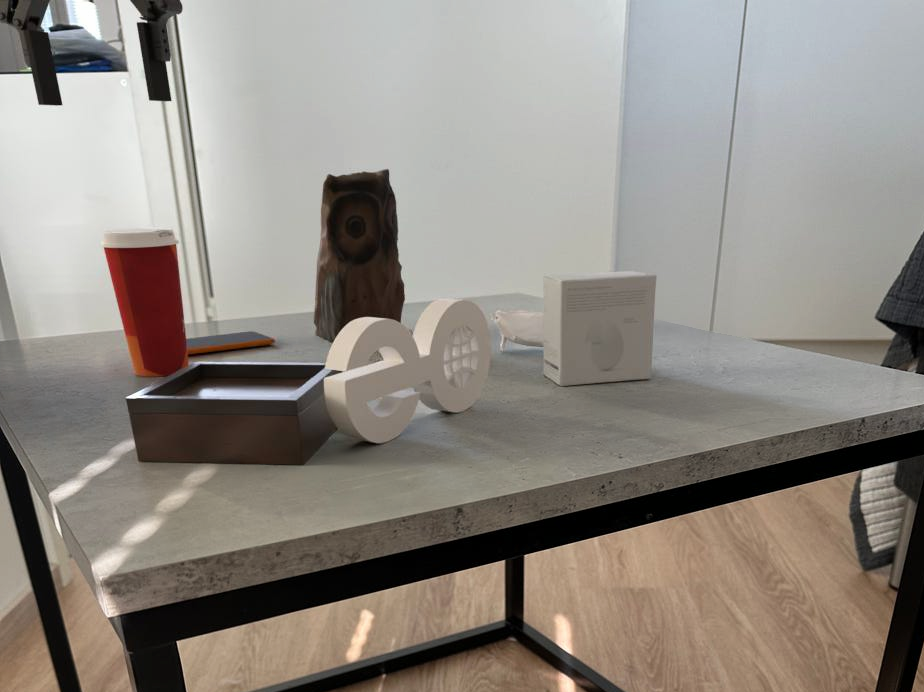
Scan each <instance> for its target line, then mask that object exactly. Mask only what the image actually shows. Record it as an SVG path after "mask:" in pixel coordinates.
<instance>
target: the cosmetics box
mask: <svg viewBox="0 0 924 692" xmlns="http://www.w3.org/2000/svg"><path fill="white" fill-rule="evenodd" d="M656 288H657V275H656V274H652V273H646V272H641V271H638V270H637V271H636V270H628V271H627V270H625V271H624V270H623V271H611V272H610V271H609V272H592V273H591V272H590V273H571V274H554V275H544V276H543V313H544V343H543V347H542V348H543V351H542V353H543V354H542V355H543V357H542V358H543V364H542V365H543V366H542V367H543V372H542V373H543V376H545V377H546V378H548V379H550V380H551V381H552V382H554V383H555V384H557V385H558V386H560V387H568V386H576V385H577V386H578V385H588V384H589V385H591V384H600V383H601V384H602V383H614V382H625V381H638V380H639V381H640V380H649V379H652V375H653V374H652V373H653V371H652V370H653V369H652V368H653V346H654V326H655V306H656V305H655V304H656Z"/></svg>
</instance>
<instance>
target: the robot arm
mask: <svg viewBox="0 0 924 692" xmlns="http://www.w3.org/2000/svg"><path fill="white" fill-rule="evenodd" d="M50 1H51V0H0V23H2V24H6V25H9V26H11V27H13V28H14V29H16V31H17V33H18V36H19V42H20V45H21V50H22V55H23V59H24V60H23V61H24V63H25V66H26V67H27V68H29V69H30V71H31V75H32V79H33V85H34V90H35V94H36V99H37V103H38V105H39V106H63V101H62V96H61V91H60V84H59V81H58V74H57V71H56V66H55V61H54V57H53V56H54V55H53V51H52V45H51V42H50V36H49V35H50V34H49V32H48V31H45V29H44V28H43V27H42V23H43V22H44V21H43V20H44V19H45V15H46V13H47V9H48V7H49V4H50ZM129 1H130V2H131V3H132V5H133V6H134V8H135V9H136V10H137V11H138V12H139V14H140V16H139V19H140V20H141V21H137V22H136V27H137V29H136V30H137V34H138V41H139V46H140V52H141V53H140V54H141V60H142V65H143V71H144V78H145V83H146V84H145V85H146V88H147V95H148V101H151V102H172V101H173V100H172V93H171V88H170V80H169V74H168V68H167V62H171V59H172V53H171V49H170V48H171V46H170V40H169V33H168V21H169V19H171V18H172V17H174V16H175V15H180V14H182V12H183V4H182V1H181V0H129Z"/></svg>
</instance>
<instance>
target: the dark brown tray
mask: <svg viewBox="0 0 924 692" xmlns="http://www.w3.org/2000/svg"><path fill="white" fill-rule="evenodd" d="M325 365H326V362H281V361H280V362H279V361H278V362H277V361H276V362H273V361H271V362H268V361H267V362H265V361H264V362H263V361H262V362H261V361H260V362H259V361H193V362H191V363H190V364H188V366H186V367H184V368H182V369H180V370H178V371H176V372H174V373H173V374H171V375H169V376H164V377H163V378H161V379H160V380H158V381H156V382H154V383H152V384H149V385H148V386H145V387H144V388H142V389H140V390H139V391H137V392H135V393H133V394H131V395H129V396H127V397H125V401H126V407H127V412H128V416H129V421H130V427H131V431H132V437H133V441H134V446H135V451H136V457H137V462H146V463H147V462H150V463H151V462H153V463H155V462H156V463H192V464H193V463H195V464H196V463H197V464H198V463H201V464H240V465H241V464H245V465H246V464H247V465H249V464H250V465H288V466H289V465H292V466H293V465H294V466H295V465H296V466H304V465H305V464H306V462H307V461H308V460H309V459H310V458H312V456H313V455H314V454H315V453H316V452H317V451H318V450H319V449H320V448H321V447H322V446H323V444H324V443H326V441H327V440H328V439H329V438H330V437H331V436H332V435H333V434H334V433H335V432H336V431H337V430H338V428H337V427H336V425H335V424H334V422H333V421H332V419H331V417H330V415H329V412H328V409H327V406H326V401H325V392H324V378H326V377H329V376H332V375H336V374H339V373H342V372H343V371H339V370H331V369H325Z"/></svg>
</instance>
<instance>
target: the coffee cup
mask: <svg viewBox="0 0 924 692" xmlns="http://www.w3.org/2000/svg"><path fill="white" fill-rule="evenodd" d="M101 240H102V241H101V242H100V244H99V247H101V248H103V251H104V255H105V259H106V263H107V267H108V271H109V274H110V279H111V283H112V287H113V291H114V295H115V299H116V304H117V307H118V311H119V316H120V319H121V324H122V328H123V332H124V336H125V339H126V344H127V347H128V351H129V354H130V355H129V356H130V359H131V363H132V366H133V369H134V372H135V374H136V375H137V376H140V377H150V378H151V377H154V378H155V377H167V375H171V374H173V373H174V372H176V371H178V370H180V369H182V368H184V367H186V366H188V365H189V355H188V353H187V342H186V339H187V333H186V324H185V323H186V322H185V315H184V314H185V313H184V304H183V293H182V285H181V275H180V267H179V255H178V248H177V244H180V241H179V240H178V239H176V236H175V232H174V230H173V228H171V227H128V228H127V227H126V228H116V229H114V228H113V229H107V230H103V231H102V238H101Z"/></svg>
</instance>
